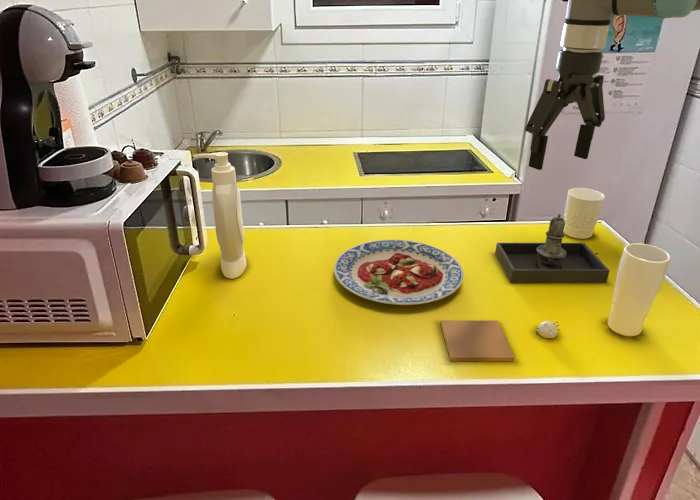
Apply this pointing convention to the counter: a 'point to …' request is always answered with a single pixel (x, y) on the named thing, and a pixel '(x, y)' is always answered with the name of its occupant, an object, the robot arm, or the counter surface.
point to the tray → (575, 269)
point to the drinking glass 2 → (636, 287)
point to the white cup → (582, 212)
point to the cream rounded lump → (548, 329)
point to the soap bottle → (227, 215)
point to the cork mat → (476, 341)
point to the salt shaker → (552, 246)
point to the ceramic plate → (398, 272)
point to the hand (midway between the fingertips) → (558, 162)
